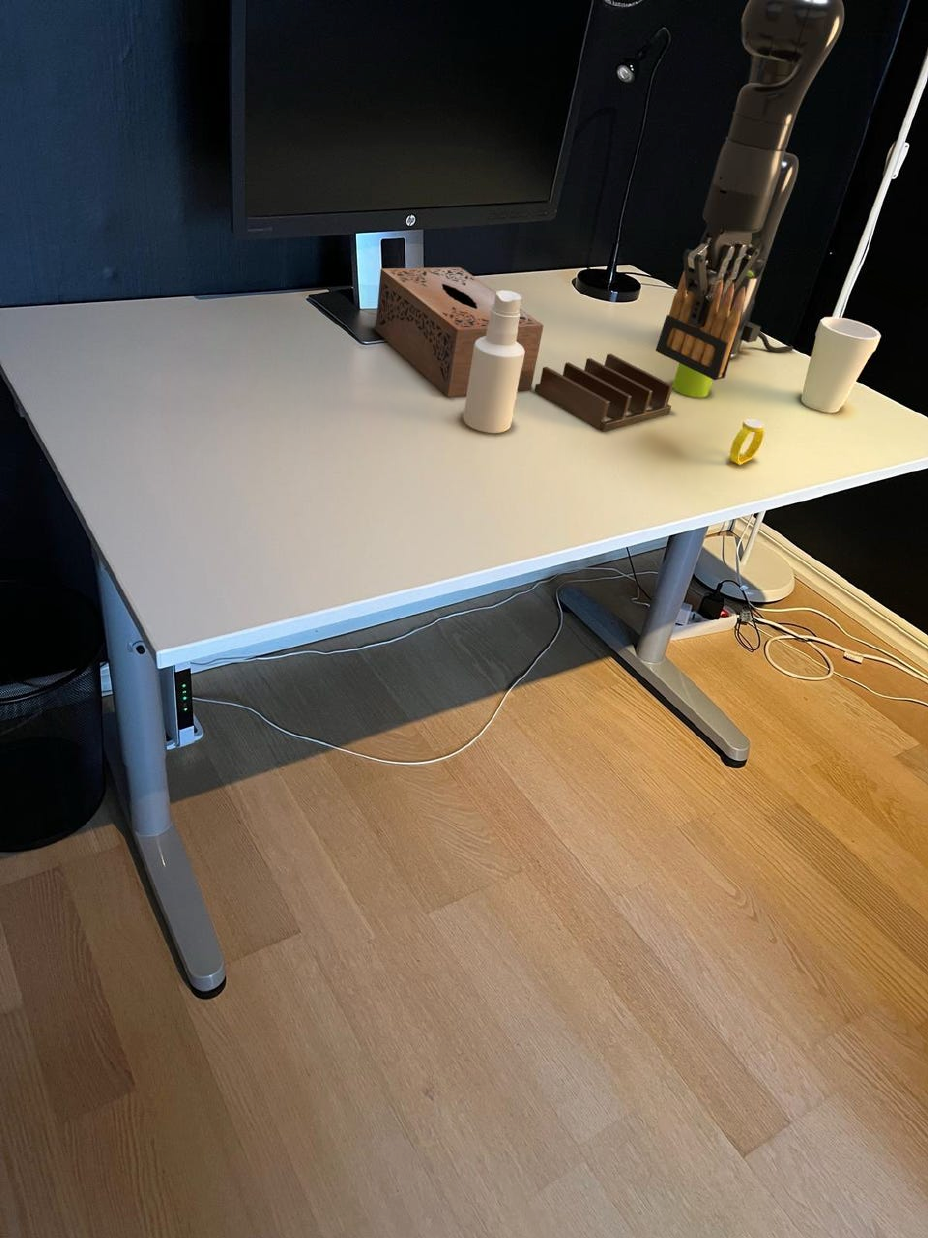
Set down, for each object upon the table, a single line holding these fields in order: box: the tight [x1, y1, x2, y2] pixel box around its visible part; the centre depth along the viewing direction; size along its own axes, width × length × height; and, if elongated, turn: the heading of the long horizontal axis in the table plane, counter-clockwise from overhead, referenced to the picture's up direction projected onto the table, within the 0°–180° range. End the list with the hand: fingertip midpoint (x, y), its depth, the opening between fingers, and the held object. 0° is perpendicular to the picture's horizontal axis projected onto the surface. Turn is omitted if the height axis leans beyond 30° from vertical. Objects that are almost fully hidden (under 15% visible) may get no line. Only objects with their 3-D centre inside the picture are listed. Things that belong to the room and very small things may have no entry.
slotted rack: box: [533, 353, 673, 432], centre depth 141 cm, size 15×15×4 cm
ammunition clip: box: [655, 270, 745, 381], centre depth 122 cm, size 11×2×12 cm, turn 40°
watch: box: [729, 418, 765, 466], centre depth 131 cm, size 6×3×6 cm, turn 133°
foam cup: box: [800, 316, 882, 414], centre depth 151 cm, size 10×9×13 cm
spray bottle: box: [462, 289, 525, 434], centre depth 125 cm, size 7×7×18 cm
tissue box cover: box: [374, 266, 544, 398], centre depth 144 cm, size 26×14×10 cm, turn 29°
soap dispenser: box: [672, 270, 754, 398], centre depth 146 cm, size 6×7×20 cm
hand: (701, 324), depth 123 cm, fingers closed on ammunition clip, 1 cm apart
